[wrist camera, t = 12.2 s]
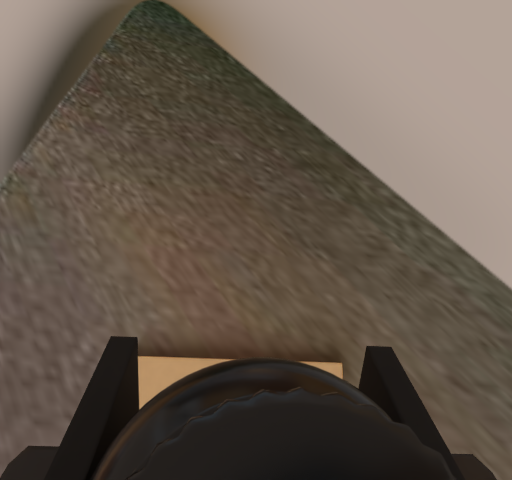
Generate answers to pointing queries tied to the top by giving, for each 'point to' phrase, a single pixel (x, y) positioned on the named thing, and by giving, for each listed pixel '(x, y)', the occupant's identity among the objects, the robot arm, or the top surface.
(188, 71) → the top surface
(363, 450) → the supplement bottle
